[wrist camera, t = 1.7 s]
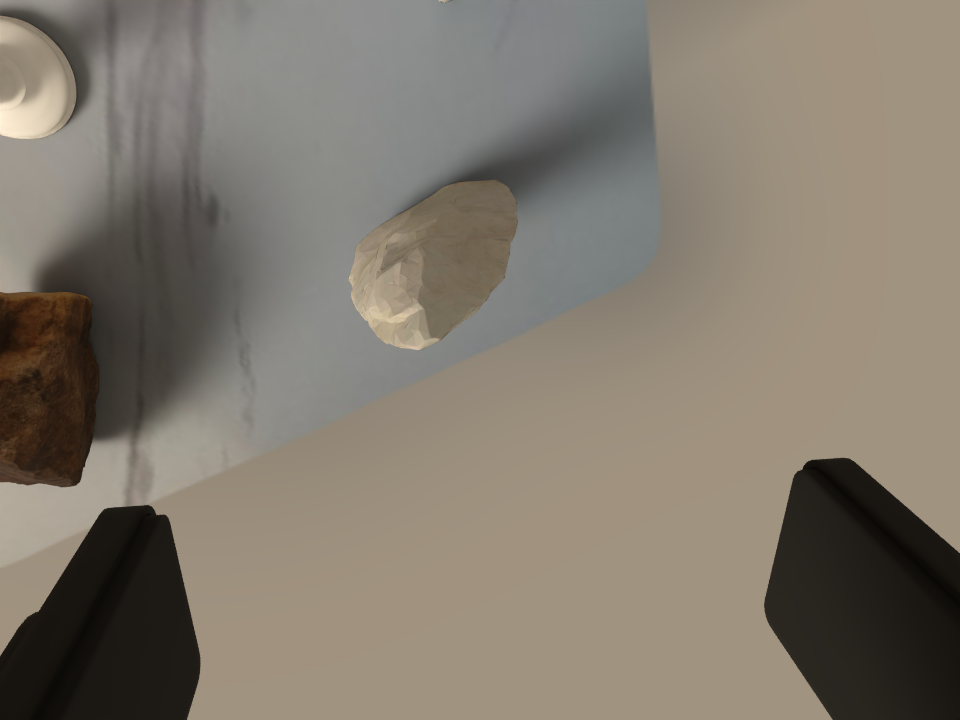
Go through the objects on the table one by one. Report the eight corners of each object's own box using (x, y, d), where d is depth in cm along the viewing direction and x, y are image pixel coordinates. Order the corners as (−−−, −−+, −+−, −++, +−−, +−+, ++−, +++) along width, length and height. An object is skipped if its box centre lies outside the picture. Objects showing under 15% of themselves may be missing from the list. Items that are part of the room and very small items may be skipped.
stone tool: (370, 286, 35) (360, 432, 21) (336, 236, 34) (302, 358, 20) (513, 201, 34) (596, 298, 21) (483, 147, 33) (552, 212, 19)
